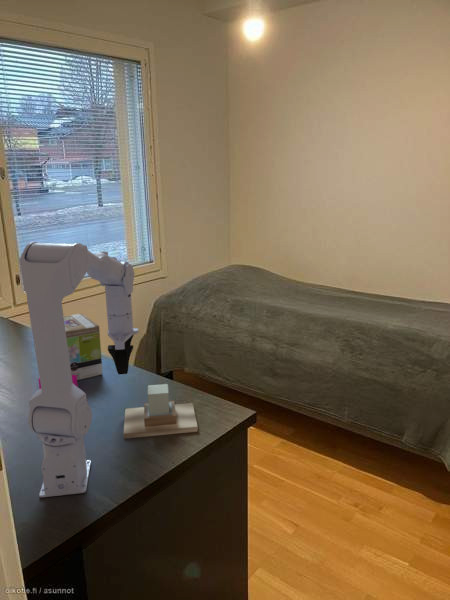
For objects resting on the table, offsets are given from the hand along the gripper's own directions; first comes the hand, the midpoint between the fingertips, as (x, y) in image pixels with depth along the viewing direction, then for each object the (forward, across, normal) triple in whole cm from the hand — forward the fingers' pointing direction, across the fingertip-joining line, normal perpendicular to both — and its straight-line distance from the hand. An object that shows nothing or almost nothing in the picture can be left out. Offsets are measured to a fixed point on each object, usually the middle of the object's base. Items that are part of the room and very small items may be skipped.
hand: (123, 366), depth 112 cm
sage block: (+7, -9, -8) cm, 14 cm away
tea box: (+11, +24, +14) cm, 30 cm away
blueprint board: (+10, -9, -8) cm, 16 cm away
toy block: (+11, +10, +17) cm, 22 cm away
